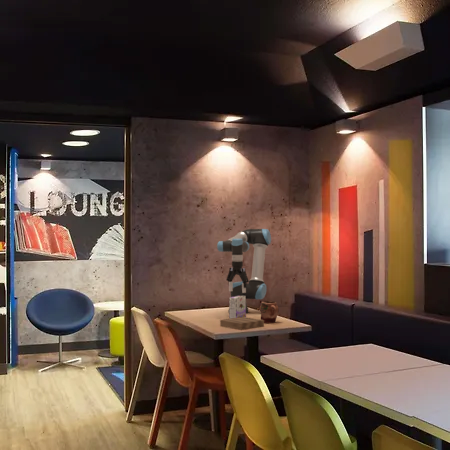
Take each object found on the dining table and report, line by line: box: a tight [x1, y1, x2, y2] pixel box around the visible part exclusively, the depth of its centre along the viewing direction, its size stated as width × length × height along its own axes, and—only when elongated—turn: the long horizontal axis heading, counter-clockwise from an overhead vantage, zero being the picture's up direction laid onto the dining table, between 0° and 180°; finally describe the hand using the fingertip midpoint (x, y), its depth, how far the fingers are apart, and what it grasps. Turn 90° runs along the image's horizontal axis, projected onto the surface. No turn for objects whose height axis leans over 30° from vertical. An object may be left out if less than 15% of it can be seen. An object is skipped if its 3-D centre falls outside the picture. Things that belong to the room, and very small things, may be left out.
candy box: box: [228, 296, 247, 319], centre depth 415 cm, size 14×6×16 cm, turn 149°
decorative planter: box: [258, 300, 280, 324], centre depth 406 cm, size 20×12×14 cm, turn 26°
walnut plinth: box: [219, 316, 265, 331], centre depth 391 cm, size 20×20×4 cm
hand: (237, 292), depth 415 cm, fingers open, 13 cm apart
